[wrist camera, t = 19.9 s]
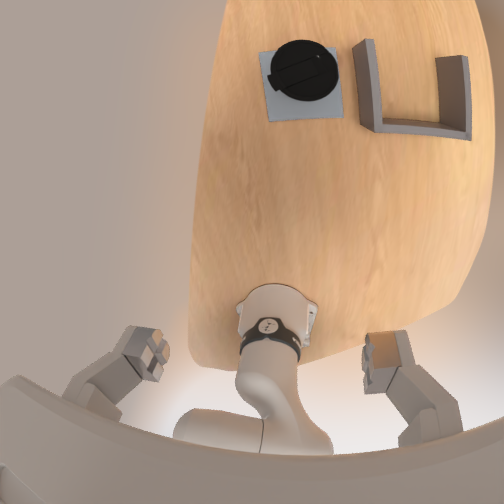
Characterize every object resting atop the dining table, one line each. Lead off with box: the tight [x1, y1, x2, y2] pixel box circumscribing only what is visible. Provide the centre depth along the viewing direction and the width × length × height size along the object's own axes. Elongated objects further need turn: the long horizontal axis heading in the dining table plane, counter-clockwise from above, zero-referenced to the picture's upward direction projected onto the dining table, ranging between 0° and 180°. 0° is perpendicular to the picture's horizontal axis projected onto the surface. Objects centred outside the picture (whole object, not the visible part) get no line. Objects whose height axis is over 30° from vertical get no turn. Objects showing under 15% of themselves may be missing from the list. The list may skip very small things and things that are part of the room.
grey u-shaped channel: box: [352, 39, 472, 141], centre depth 29 cm, size 13×16×9 cm
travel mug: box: [267, 40, 339, 102], centre depth 28 cm, size 6×7×20 cm
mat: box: [259, 48, 344, 122], centre depth 36 cm, size 12×12×1 cm
